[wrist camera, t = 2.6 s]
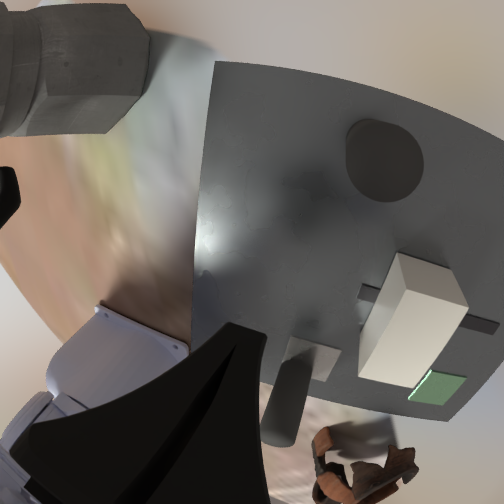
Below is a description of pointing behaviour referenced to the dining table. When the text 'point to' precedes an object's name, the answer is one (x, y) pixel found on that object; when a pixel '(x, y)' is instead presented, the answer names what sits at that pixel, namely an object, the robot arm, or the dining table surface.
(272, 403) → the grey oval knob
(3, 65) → the coffeepot
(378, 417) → the dining table surface
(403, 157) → the black cylinder
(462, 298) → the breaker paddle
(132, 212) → the dining table surface
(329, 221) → the panel
